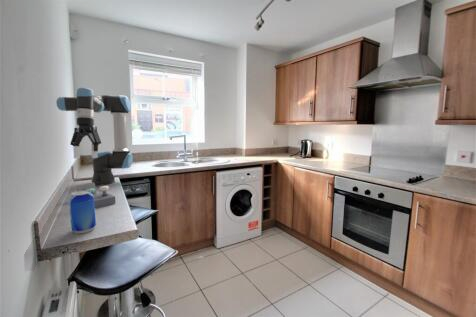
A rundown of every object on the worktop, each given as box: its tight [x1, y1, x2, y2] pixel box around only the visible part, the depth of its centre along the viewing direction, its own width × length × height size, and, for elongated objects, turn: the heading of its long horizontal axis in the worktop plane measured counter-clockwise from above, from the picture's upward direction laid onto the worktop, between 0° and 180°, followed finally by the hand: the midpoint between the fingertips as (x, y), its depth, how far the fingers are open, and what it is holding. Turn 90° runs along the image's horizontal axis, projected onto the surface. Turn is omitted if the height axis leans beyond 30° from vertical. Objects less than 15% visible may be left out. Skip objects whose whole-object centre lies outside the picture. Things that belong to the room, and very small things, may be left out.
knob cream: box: [99, 185, 110, 197], centre depth 128 cm, size 4×4×6 cm
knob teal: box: [86, 188, 95, 195], centre depth 123 cm, size 4×4×6 cm
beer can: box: [68, 190, 97, 234], centre depth 94 cm, size 8×8×16 cm
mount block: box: [93, 192, 116, 209], centre depth 126 cm, size 13×12×4 cm
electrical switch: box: [75, 182, 98, 195], centre depth 135 cm, size 9×5×9 cm, turn 141°
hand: (85, 158), depth 122 cm, fingers open, 13 cm apart
